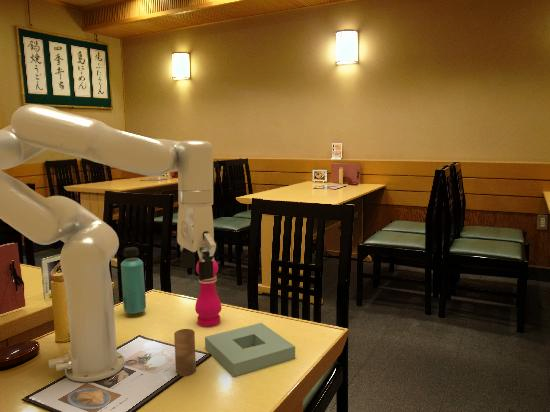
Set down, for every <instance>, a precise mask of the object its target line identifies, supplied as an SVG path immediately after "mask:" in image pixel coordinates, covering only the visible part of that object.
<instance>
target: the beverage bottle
mask: <svg viewBox="0 0 550 412" xmlns="http://www.w3.org/2000/svg"><path fill="white" fill-rule="evenodd" d="M139 252H140V251H139V248H138V247H135V246H130V247H125V248H123V256H124V257H125V259H124V260H123V261H121V263H120V270H121V271H120V272H121V280H120V281H121V285H122V286H121V290H122V304H123V310H124V312H125V313H126V314H138V313H142V312H143V311H144V312H145V310H146V309H147V301H146V299H147V298H146V297H147V296H146V285H145V274H144V262H143V260H142V259H140V258H138V257H137V256H139V255H140V253H139Z"/></svg>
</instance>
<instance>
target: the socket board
mask: <svg viewBox="0 0 550 412" xmlns="http://www.w3.org/2000/svg"><path fill="white" fill-rule="evenodd" d="M204 348H205V350H206V351H207V352H208V353H209V354H211V356H212V357H214V359H215V360H216V361H217V362H218V363H219V364H220V365H221V366H223V367H224V369H225V370H227V372H228V373H230V374H231V376H232V377H233V378H234V377H239V376H242V375H245V374H248V373H252V372H255V371H258V370H261V369H265V368H269V367H272V366H275V365H278V364H282V363H285V362H288V361H290V360H295V359H296V346H295V345H294V344H293V343H291V342H290V341H289V340H287V339H286V338H284V337H283V336H281V335H280V334H278V333H277V332H275V331H274V330H272V328H270V327H268V325H265V324H264V323H262V322H258V323H255V324H251V325H247V326H243V327H239V328H235V329H230V330H227V331H223V332H219V333H214V334H211V335H207V336H205V337H204Z"/></svg>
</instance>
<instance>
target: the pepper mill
mask: <svg viewBox="0 0 550 412" xmlns="http://www.w3.org/2000/svg"><path fill="white" fill-rule="evenodd" d="M198 262H200V260H198ZM198 262H197V263H196V265H195V266H196V268H195V271H196V273H197V275H199V264H198ZM218 264H219V263H218V262H217V261H216V260H215V259H214V261H213V278H211V279H205V280H200V279H199V276H198V277H197V279H198V282H199V284H200V285H199V286H200V288H199V293H198V297H197V299H196V301H195V305H194V306H195V309H194V310H195V312H196V314H197V315H198V316H197V325H198V326H200V327H202V328H211V327H215V326H217V325H219V324H220V323H221V316H220V313H221V312H222V302H221V300H220V298H219V297H220V296H219V294H218V293H217V289H216V282H217V281H218V279H217V273H218V271H219V265H218Z"/></svg>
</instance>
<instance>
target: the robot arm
mask: <svg viewBox="0 0 550 412" xmlns="http://www.w3.org/2000/svg"><path fill="white" fill-rule="evenodd" d="M10 119H11V120H10V124H8V126H5V127H3V128H2V129H0V219H1V220H2V221H3V222H4V223H6V224H8V225H9V226H10V227H11V228H13V229H14V230H16V231H17V232H19V233H20V234H22V235H23V236H24V237H25V238H28V240H30V241H32V242H34V243H35V244H39V245H44V246H46V245H47V246H48V245H51V244H53V243H56V242H58V241H61V242H63V243H64V244H63V247H62V249H61V252H60V258H59V263H60V264H59V265H60V269H61V272H62V273H61V274H62V276H63V277H62V278H63V280H64V281H63V282H64V288H65V294H66V295H65V296H66V297H65V298H66V306H67V315H68V326H69V327H68V328H69V329H68V331H69V339H70V349H68V350H67V352H68V354H64V355H63V357H56V358H52V359H48V369H49V370H51V369H55V368H56V372H59V371H63V370H64V374H65V377H67V379H68V380H71V381H73V382H74V381H75V382H79V383H80V382H82V383H89V382H96V381H101V380H104V379H107V378H110V377H113V376H114V375H115V374H117V373H118V372H120V371H121V370H122V369H123V368H124V366H125V357H124V355H123V354H121V353H120V352H117V351H118V350H117V349H118V348H117V336H116V334H117V333H116V317H115V303H114V300H115V299H114V292H113V291H114V290H113V282H112V277H111V272H110V262H111V261H112V259H113V258H114V257H115V255H116V254H117V252H118V249H119V246H120V242H119V241H120V240H119V237H118V234H117V232H116V231H115V230H114V229H113V228H112V226H110V225H109V224H107V222H105V221H103V220H102V219H101V218H99V217H98V216H96V215H95V214H94V213H93V212H91V211H89V210H88V209H86V207H84V206H83V205H81V204H80V203H78V202H77V201H75V200H73V199H72V198H69V197H66V196H63V195H52V196H48V197H45V196H43V195H41V194H40V193H38V192H36V191H35V190H34V189H32V188H30V187H29V186H28V185H27V184H26V183H24V182H22V181H21V180H19V179H17V178H16V177H13V176H11V175H9V174H8V173H6V172H4V170H8V169H9V170H10V169H12V168H14V167H17V166H19V165H21V164H23V163H25V162H26V161H28V160H30V159H32V158H34V157H36V156H38V155H40V154H42V153H44V152H46V151H48V150H49V151H53V152H58V153H61V154H65V155H70V156H72V157H77V158H80V159H83V160H88V161H91V162H94V163H98V164H102V165H105V166H108V167H111V168H115V169H118V170H122V171H126V172H130V173H134V174H137V175H138V174H139V175H143V176H147V177H154V178H157V177H162V176H164V175H166V174H168V173H171V172H177V185H178V186H177V187H178V188H177V190H178V192H177V194H178V199H177V200H178V201H177V202H178V210H177V231H176V240H177V241H176V242H177V244H178V245H179V246H180V247H179V250H180V268H181V269H182V270H183V269H189V268H195V266H196V265H195V261H196V260H195V259H196V258H195V253H196V252H197V254H198V257H199V258H198V259H199V261H200V262H199V261H197V263H198V264H199V274H198V277H199V278H198V280H199V279H200V280H205V279H211V278H213V261H214V260H215V256H216V250H217V249H216V248H217V244H216V242H215V238H214V237H215V236H214V235H215V233H214V231H215V229H214V216H213V207H212V206H213V205H214V147H213V144H212V143H211V142H210V141H207V140H200V139H199V140H198V139H197V140H193V139H192V140H189V139H187V140H182V141H181V140H173V139H166V138H152V137H147V136H144V135H143V136H142V135H139V134H134V133H130V132H127V131H123V130H120V129H117V128H113V127H112V126H110V125H107V123H104V122H103V121H101V120H98V119H94V118H91V117H87V116H83V115H79V114H75V113H70V112H67V111H62V110H59V109H58V108H55V107H53V106H49V105H41V104H33V103H29V104H26V105H22V106H20V107H19V108H18V109H16V110H15V111H14V112H13V114H12V116H11V118H10Z"/></svg>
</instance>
